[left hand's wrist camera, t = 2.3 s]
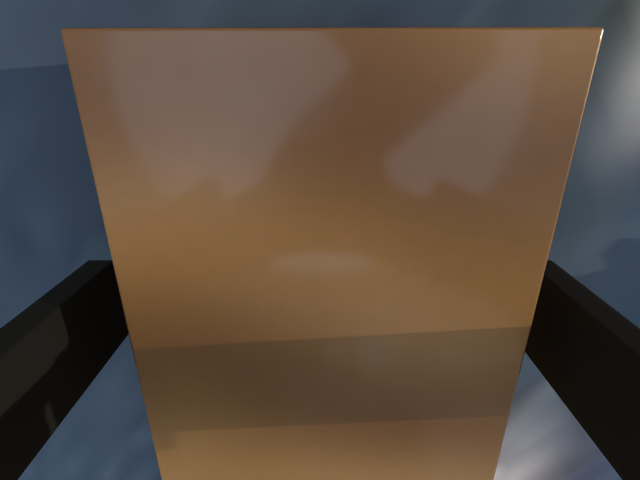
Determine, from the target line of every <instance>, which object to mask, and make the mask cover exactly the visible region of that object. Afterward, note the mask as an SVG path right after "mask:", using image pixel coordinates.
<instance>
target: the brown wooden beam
mask: <svg viewBox="0 0 640 480" xmlns="http://www.w3.org/2000/svg"><path fill="white" fill-rule="evenodd" d="M603 31H604V29H603V28H601V27H307V28H63V29H61V34H62V39H63V43H64V48H65V52H66V56H67V61H68V65H69V70H70V74H71V79H72V83H73V88H74V92H75V96H76V101H77V105H78V110H79V114H80V119H81V123H82V128H83V132H84V136H85V141H86V145H87V150H88V154H89V159H90V163H91V168H92V172H93V176H94V181H95V185H96V190H97V194H98V199H99V203H100V208H101V212H102V216H103V221H104V225H105V230H106V234H107V239H108V243H109V248H110V252H111V256H112V261H113V265H114V270H115V274H116V279H117V283H118V288H119V292H120V297H121V301H122V305H123V310H124V314H125V319H126V323H127V328H128V332H129V337H130V341H131V345H132V350H133V354H134V359H135V363H136V368H137V372H138V377H139V381H140V385H141V390H142V394H143V399H144V403H145V408H146V412H147V417H148V421H149V425H150V430H151V434H152V439H153V443H154V448H155V452H156V457H157V461H158V465H159V470H160V474H161V479H162V480H493V479H494V475H495V471H496V466H497V462H498V458H499V454H500V450H501V446H502V442H503V438H504V434H505V430H506V426H507V422H508V418H509V414H510V410H511V405H512V401H513V397H514V393H515V389H516V385H517V381H518V377H519V373H520V369H521V365H522V361H523V357H524V353H525V349H526V344H527V340H528V336H529V332H530V328H531V324H532V320H533V316H534V312H535V308H536V304H537V300H538V296H539V292H540V288H541V284H542V279H543V275H544V271H545V267H546V263H547V259H548V255H549V251H550V247H551V243H552V239H553V235H554V231H555V227H556V223H557V218H558V214H559V210H560V206H561V202H562V198H563V194H564V190H565V186H566V182H567V178H568V174H569V170H570V166H571V162H572V157H573V153H574V149H575V145H576V141H577V137H578V133H579V129H580V125H581V121H582V117H583V113H584V109H585V105H586V101H587V96H588V92H589V88H590V84H591V80H592V76H593V72H594V68H595V64H596V60H597V56H598V52H599V48H600V44H601V40H602V35H603Z"/></svg>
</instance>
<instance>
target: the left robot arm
mask: <svg viewBox="0 0 640 480" xmlns="http://www.w3.org/2000/svg"><path fill="white" fill-rule="evenodd" d="M128 334H129V333H128V328H127V323H126V319H125V314H124V310H123V305H122V301H121V297H120V292H119V288H118V283H117V279H116V274H115V270H114V265H113V261H87V262H86V263H85V264H84V265H82V266H81V267H80V268H78V269H77V270H76V271H75V272H73V273H72V274H71V275H69V276H68V277H67V278H65V279H64V280H63V281H62V282H60V283H59V284H58V285H56V286H55V287H54V288H53V289H51V290H50V291H49V292H47V293H46V294H45V295H43V296H42V297H41V298H40V299H38V300H37V301H36V302H34V303H33V304H32V305H30V306H29V307H28V308H27V309H25V310H24V311H23V312H21V313H20V314H19V315H18V316H16V317H15V318H14V319H12V320H11V321H10V322H8V323H7V324H6V325H5V326H3V327H2V328H1V329H0V480H18V478H19V477H20V476H21V475H22V473H23V472H24V471H25V469H26V468H27V467H28V465H29V464H30V463H31V461H32V460H33V459H34V457H35V456H36V455H37V453H38V452H39V451H40V450H41V448H42V447H43V446H44V444H45V443H46V442H47V440H48V439H49V438H50V436H51V435H52V434H53V432H54V431H55V430H56V428H57V427H58V426H59V425H60V423H61V422H62V421H63V419H64V418H65V417H66V415H67V414H68V413H69V411H70V410H71V409H72V407H73V406H74V405H75V404H76V402H77V401H78V400H79V398H80V397H81V396H82V394H83V393H84V392H85V390H86V389H87V388H88V386H89V385H90V384H91V382H92V381H93V380H94V379H95V377H96V376H97V375H98V373H99V372H100V371H101V369H102V368H103V367H104V365H105V364H106V363H107V361H108V360H109V359H110V357H111V356H112V355H113V354H114V352H115V351H116V350H117V348H118V347H119V346H120V344H121V343H122V342H123V340H124V339H125V338H126V336H127V335H128ZM525 352H526V354H527V355H528V356H529V357H530V359H531V360H532V361H533V363H534V364H535V365H536V367H537V368H538V369H539V371H540V372H541V373H542V375H543V376H544V377H545V379H546V380H547V381H548V382H549V384H550V385H551V386H552V388H553V389H554V390H555V392H556V393H557V394H558V396H559V397H560V398H561V400H562V401H563V402H564V404H565V405H566V406H567V407H568V409H569V410H570V411H571V413H572V414H573V415H574V417H575V418H576V419H577V421H578V422H579V423H580V425H581V426H582V427H583V428H584V430H585V431H586V432H587V434H588V435H589V436H590V438H591V439H592V440H593V442H594V443H595V444H596V446H597V447H598V448H599V450H600V451H601V452H602V453H603V455H604V456H605V457H606V459H607V460H608V461H609V463H610V464H611V465H612V467H613V468H614V469H615V471H616V472H617V473H618V475H619V476H620V477H621V478H622V480H640V329H639V328H638V327H637V326H635V325H634V324H633V323H632V322H630V321H629V320H628V319H626V318H625V317H624V316H622V315H621V314H620V313H619V312H617V311H616V310H615V309H613V308H612V307H611V306H610V305H608V304H607V303H606V302H604V301H603V300H602V299H600V298H599V297H598V296H597V295H595V294H594V293H593V292H591V291H590V290H589V289H587V288H586V287H585V286H584V285H582V284H581V283H580V282H578V281H577V280H576V279H575V278H573V277H572V276H571V275H569V274H568V273H567V272H565V271H564V270H563V269H562V268H560V267H559V266H558V265H556V264H555V263H554V262H553V261H547V263H546V267H545V271H544V275H543V279H542V284H541V288H540V292H539V296H538V300H537V304H536V308H535V312H534V316H533V320H532V324H531V328H530V332H529V336H528V340H527V344H526V349H525Z"/></svg>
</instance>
